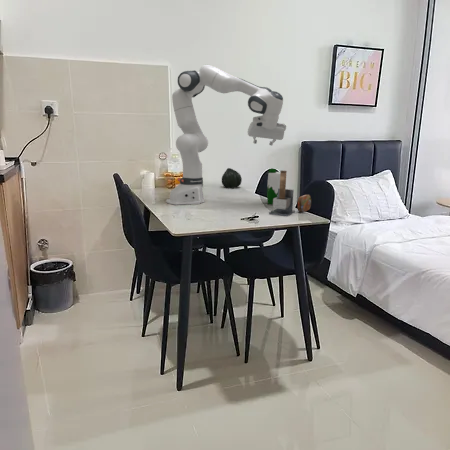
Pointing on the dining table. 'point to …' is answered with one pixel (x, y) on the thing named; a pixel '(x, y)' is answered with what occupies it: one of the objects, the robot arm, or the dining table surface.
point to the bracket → (283, 204)
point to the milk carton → (273, 185)
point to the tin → (304, 203)
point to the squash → (231, 178)
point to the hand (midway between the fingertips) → (262, 144)
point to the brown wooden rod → (282, 184)
